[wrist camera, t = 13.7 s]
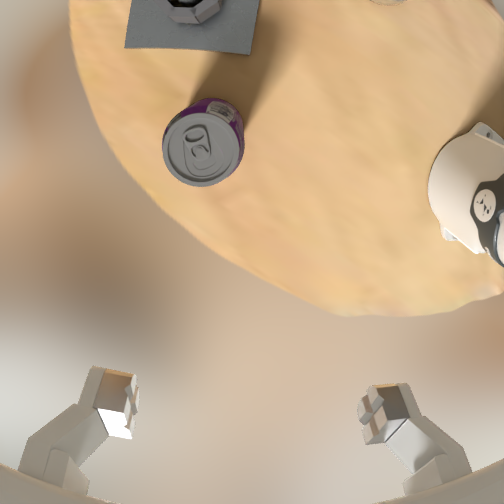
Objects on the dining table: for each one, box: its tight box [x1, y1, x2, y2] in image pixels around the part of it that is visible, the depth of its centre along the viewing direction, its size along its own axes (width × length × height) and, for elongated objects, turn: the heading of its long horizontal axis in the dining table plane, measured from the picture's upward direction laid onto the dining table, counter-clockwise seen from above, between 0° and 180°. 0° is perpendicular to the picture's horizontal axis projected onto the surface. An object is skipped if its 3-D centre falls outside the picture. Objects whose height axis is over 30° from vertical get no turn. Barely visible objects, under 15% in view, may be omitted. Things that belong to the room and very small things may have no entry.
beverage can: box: [162, 98, 245, 187], centre depth 30 cm, size 7×7×12 cm
